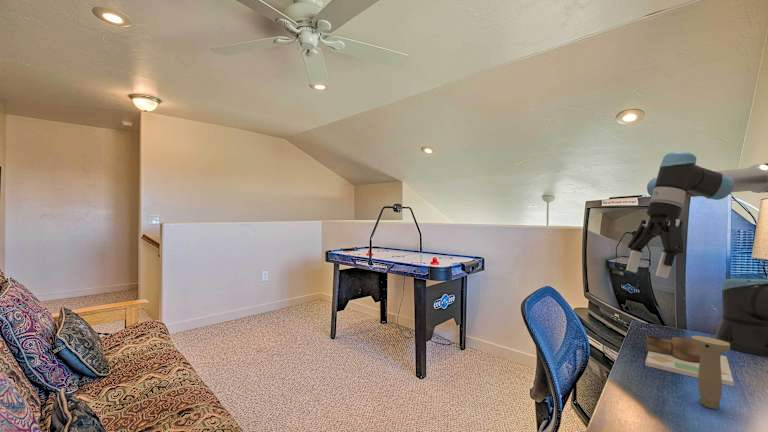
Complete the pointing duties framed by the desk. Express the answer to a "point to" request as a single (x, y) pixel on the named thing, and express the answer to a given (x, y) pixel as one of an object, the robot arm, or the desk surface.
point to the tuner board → (685, 365)
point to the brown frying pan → (675, 347)
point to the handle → (710, 369)
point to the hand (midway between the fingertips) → (645, 274)
